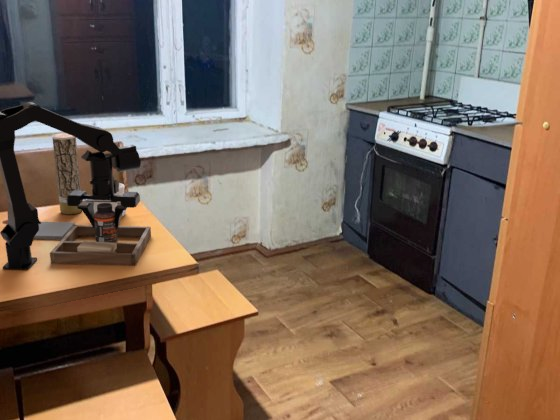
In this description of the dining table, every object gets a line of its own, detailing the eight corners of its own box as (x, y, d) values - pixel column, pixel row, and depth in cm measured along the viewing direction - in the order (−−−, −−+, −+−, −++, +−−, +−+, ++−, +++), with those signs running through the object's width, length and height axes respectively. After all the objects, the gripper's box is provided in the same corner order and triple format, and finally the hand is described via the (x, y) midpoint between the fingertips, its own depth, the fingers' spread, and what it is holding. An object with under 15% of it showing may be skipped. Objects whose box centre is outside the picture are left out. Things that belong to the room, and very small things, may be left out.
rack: (135, 265, 155) (134, 255, 154) (50, 263, 155) (49, 253, 154) (151, 236, 174) (150, 226, 172) (75, 234, 173) (74, 224, 172)
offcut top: (110, 254, 155) (110, 249, 155) (77, 252, 156) (77, 247, 155) (116, 248, 159) (116, 243, 159) (84, 245, 160) (84, 240, 160)
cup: (91, 212, 191) (89, 183, 188) (123, 208, 195) (121, 180, 192) (96, 221, 183) (93, 192, 180) (129, 217, 187) (127, 188, 184)
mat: (62, 239, 170) (62, 236, 169) (23, 238, 169) (23, 235, 169) (74, 225, 180) (74, 222, 180) (38, 224, 180) (38, 221, 179)
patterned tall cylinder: (75, 216, 187) (68, 138, 179) (56, 214, 189) (47, 137, 180) (86, 209, 194) (79, 133, 185) (67, 207, 195) (59, 132, 186)
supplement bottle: (104, 248, 163) (101, 210, 159) (91, 243, 167) (88, 205, 163) (122, 242, 168) (119, 204, 164) (109, 237, 171) (106, 200, 167)
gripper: (142, 167, 168) (145, 218, 173) (76, 165, 168) (81, 216, 173) (133, 178, 157) (136, 232, 163) (63, 176, 157) (68, 231, 163)
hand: (105, 227), depth 166 cm, fingers closed on supplement bottle, 6 cm apart
